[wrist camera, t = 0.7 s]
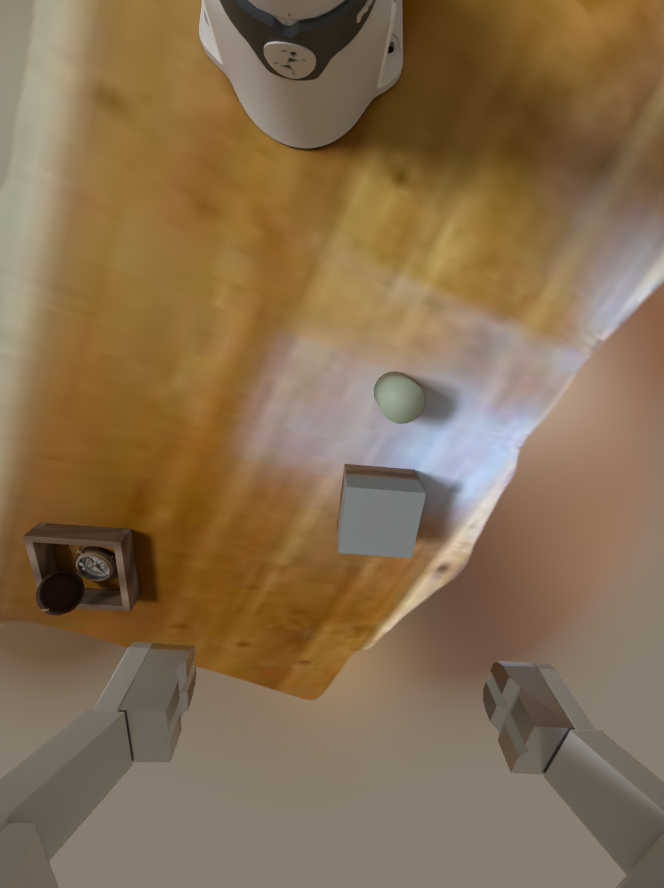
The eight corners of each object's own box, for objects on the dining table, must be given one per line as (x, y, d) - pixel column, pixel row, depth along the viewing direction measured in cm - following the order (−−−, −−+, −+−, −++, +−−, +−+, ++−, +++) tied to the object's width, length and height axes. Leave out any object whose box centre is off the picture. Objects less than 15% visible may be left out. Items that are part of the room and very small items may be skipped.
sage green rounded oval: (377, 369, 44) (385, 378, 38) (415, 373, 44) (429, 383, 39) (371, 407, 46) (378, 421, 40) (408, 411, 46) (420, 425, 40)
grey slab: (345, 474, 46) (347, 487, 43) (419, 480, 47) (426, 493, 43) (337, 537, 50) (338, 553, 46) (405, 541, 50) (411, 557, 47)
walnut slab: (344, 462, 49) (346, 473, 46) (413, 468, 50) (419, 479, 47) (336, 521, 53) (337, 536, 49) (401, 526, 53) (406, 540, 50)
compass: (128, 567, 54) (100, 604, 47) (89, 587, 55) (57, 626, 49) (92, 530, 51) (57, 564, 45) (51, 551, 53) (12, 587, 46)
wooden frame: (39, 523, 51) (23, 535, 48) (131, 529, 51) (120, 542, 49) (56, 591, 55) (42, 606, 53) (139, 596, 56) (130, 611, 53)
